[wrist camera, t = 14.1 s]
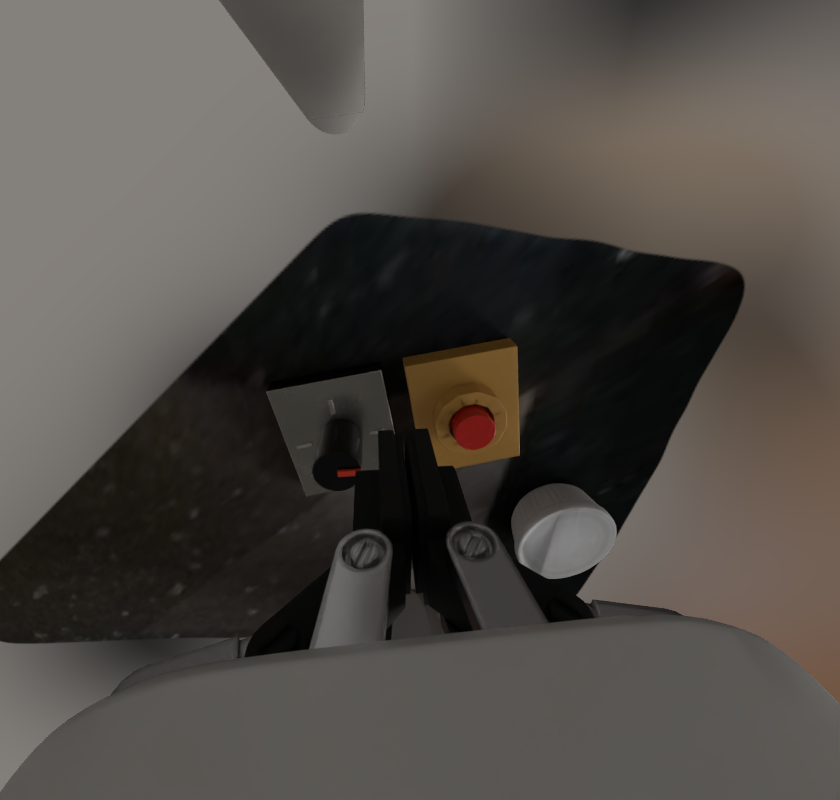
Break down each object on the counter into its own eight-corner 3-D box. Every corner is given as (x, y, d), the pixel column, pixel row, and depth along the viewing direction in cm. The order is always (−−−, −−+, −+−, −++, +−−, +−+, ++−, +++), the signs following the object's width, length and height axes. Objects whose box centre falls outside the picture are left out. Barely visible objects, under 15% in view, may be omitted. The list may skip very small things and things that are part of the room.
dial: (321, 457, 36) (314, 495, 31) (316, 421, 34) (308, 456, 30) (363, 454, 37) (363, 491, 32) (361, 418, 35) (360, 452, 30)
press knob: (449, 409, 34) (453, 419, 32) (489, 402, 34) (494, 411, 32) (453, 442, 35) (457, 453, 34) (491, 435, 35) (496, 445, 34)
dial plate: (270, 381, 34) (265, 392, 32) (380, 361, 35) (381, 370, 33) (308, 483, 40) (306, 497, 38) (402, 465, 40) (404, 478, 38)
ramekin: (489, 500, 44) (503, 535, 40) (579, 459, 43) (605, 490, 38) (519, 555, 49) (535, 592, 45) (600, 520, 48) (625, 554, 44)
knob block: (402, 357, 35) (406, 375, 31) (509, 337, 35) (525, 353, 32) (421, 461, 40) (426, 486, 37) (512, 443, 41) (526, 466, 37)
